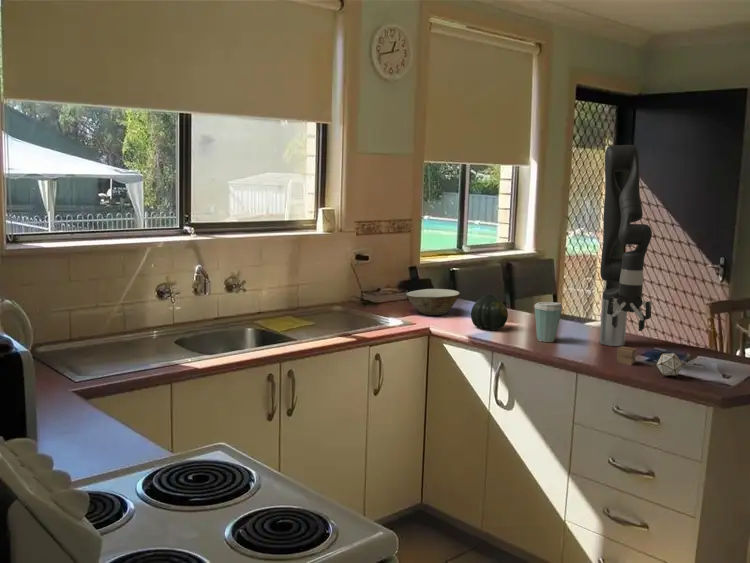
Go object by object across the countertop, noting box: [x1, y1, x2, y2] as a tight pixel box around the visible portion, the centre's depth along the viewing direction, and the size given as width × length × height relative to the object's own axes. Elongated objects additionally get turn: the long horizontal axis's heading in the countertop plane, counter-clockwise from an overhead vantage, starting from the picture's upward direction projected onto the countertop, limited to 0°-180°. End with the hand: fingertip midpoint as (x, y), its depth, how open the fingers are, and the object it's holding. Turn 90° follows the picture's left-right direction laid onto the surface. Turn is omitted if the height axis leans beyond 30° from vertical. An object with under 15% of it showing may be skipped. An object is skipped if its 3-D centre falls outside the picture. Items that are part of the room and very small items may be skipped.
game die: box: [653, 351, 686, 378], centre depth 240 cm, size 9×8×10 cm
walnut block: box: [616, 345, 637, 366], centre depth 256 cm, size 5×5×5 cm
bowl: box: [406, 288, 461, 316], centre depth 331 cm, size 24×24×10 cm
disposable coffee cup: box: [534, 301, 564, 343], centre depth 285 cm, size 11×11×15 cm
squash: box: [470, 292, 509, 331], centre depth 304 cm, size 14×15×15 cm
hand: (627, 329), depth 254 cm, fingers open, 8 cm apart
